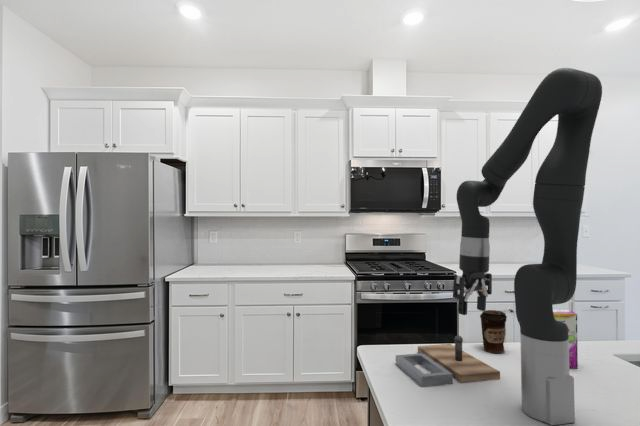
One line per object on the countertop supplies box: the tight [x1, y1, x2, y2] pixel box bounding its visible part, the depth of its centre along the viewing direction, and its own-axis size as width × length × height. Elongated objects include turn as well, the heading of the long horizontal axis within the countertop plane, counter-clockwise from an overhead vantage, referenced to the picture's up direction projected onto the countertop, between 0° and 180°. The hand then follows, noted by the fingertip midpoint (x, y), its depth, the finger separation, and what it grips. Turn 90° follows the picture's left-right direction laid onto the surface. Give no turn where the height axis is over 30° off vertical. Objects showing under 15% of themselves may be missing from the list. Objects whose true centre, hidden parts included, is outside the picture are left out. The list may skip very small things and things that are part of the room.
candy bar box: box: [553, 309, 579, 369], centre depth 108 cm, size 11×5×16 cm, turn 84°
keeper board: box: [417, 335, 501, 384], centre depth 108 cm, size 24×12×9 cm, turn 12°
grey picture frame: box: [395, 353, 454, 388], centre depth 102 cm, size 16×9×3 cm, turn 12°
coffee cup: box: [479, 309, 508, 354], centre depth 121 cm, size 9×8×13 cm
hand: (472, 312), depth 98 cm, fingers open, 8 cm apart
